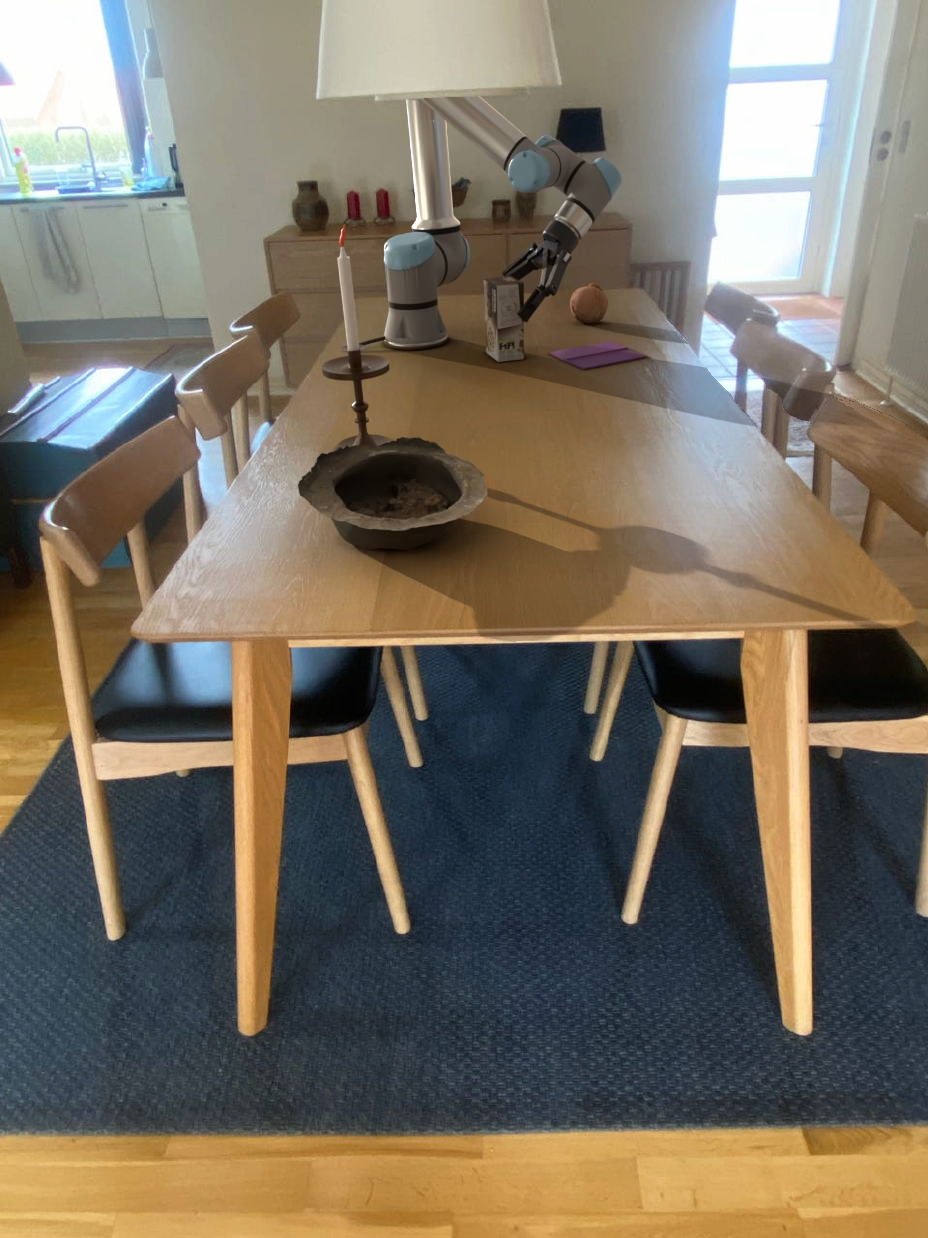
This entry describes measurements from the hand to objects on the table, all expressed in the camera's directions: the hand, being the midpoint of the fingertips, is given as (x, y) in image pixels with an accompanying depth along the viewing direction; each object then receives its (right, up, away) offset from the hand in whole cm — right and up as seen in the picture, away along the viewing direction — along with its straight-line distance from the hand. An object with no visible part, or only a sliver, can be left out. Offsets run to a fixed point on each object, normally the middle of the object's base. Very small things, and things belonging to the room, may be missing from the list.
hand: (506, 312), depth 180 cm
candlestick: (-26, -38, -39) cm, 61 cm away
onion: (+22, +8, +28) cm, 36 cm away
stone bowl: (-18, -55, -65) cm, 87 cm away
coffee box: (0, -8, +5) cm, 10 cm away
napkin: (+20, -9, +2) cm, 22 cm away
